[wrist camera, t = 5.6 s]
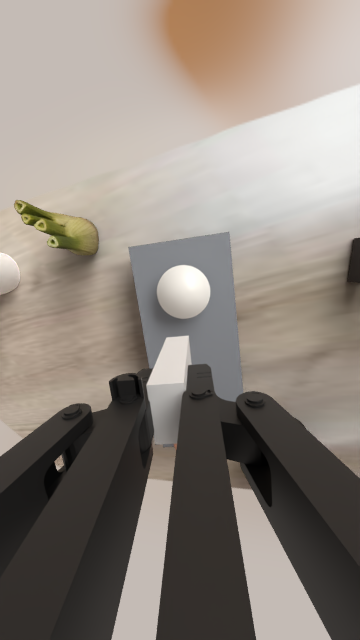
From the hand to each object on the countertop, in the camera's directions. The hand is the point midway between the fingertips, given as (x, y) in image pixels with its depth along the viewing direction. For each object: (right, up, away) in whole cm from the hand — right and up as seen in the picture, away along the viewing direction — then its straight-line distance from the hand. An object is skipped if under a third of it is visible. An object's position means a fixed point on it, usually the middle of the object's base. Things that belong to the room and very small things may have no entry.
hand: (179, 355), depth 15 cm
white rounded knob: (+1, +7, +18) cm, 20 cm away
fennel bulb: (-14, +15, +19) cm, 28 cm away
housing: (+2, 0, +21) cm, 21 cm away
